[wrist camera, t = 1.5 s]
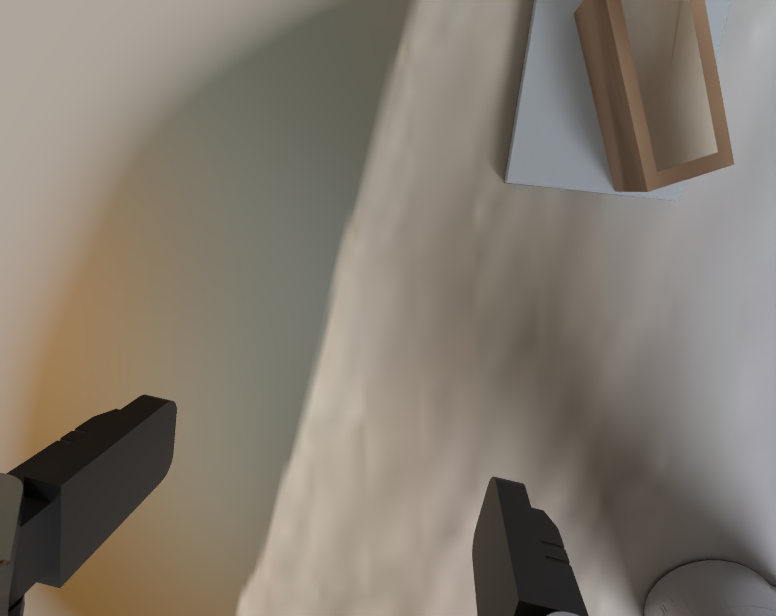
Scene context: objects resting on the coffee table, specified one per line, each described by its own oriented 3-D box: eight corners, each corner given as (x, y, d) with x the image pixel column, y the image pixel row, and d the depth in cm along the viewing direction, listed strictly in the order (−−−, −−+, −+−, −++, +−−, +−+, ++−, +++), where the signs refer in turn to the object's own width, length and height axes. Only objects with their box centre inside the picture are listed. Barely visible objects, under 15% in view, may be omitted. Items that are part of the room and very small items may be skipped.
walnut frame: (649, -17, 25) (694, -61, 21) (686, 168, 27) (734, 164, 23) (573, 13, 26) (601, -23, 21) (614, 191, 28) (647, 191, 23)
